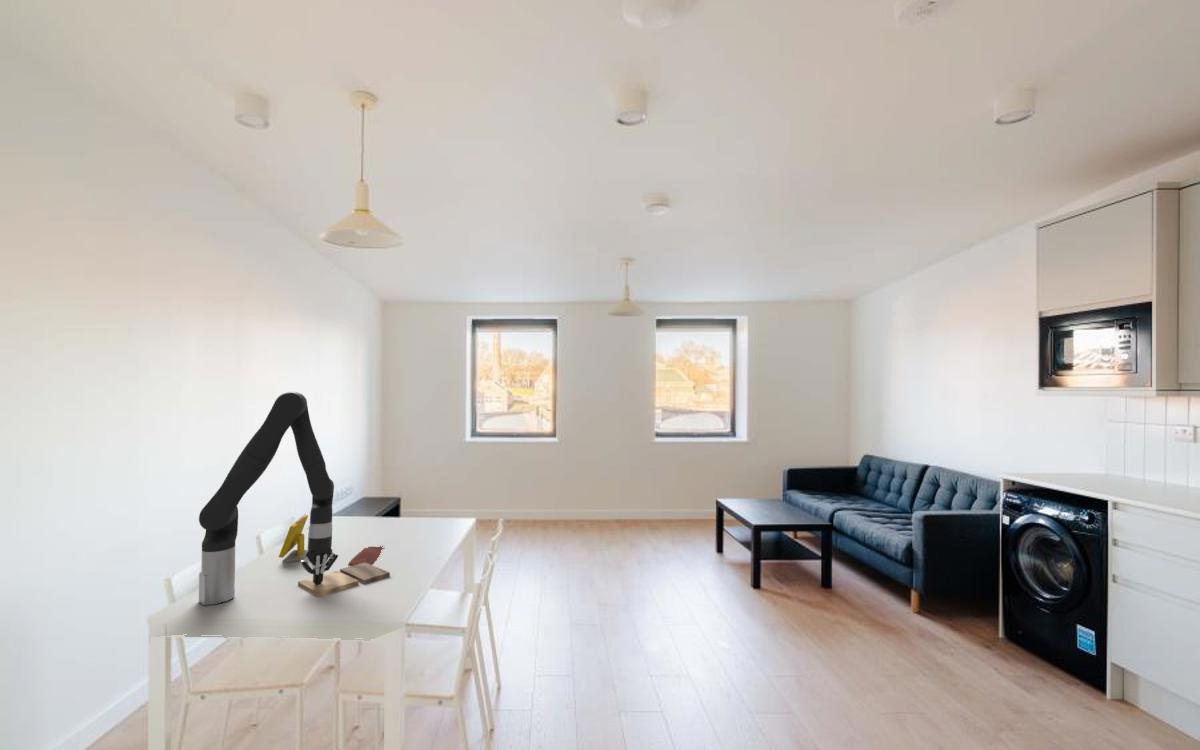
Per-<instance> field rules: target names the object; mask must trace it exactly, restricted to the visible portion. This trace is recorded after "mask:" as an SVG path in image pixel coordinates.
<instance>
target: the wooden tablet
mask: <svg viewBox="0 0 1200 750" xmlns="http://www.w3.org/2000/svg"><path fill="white" fill-rule="evenodd" d="M379 546H380V547H374V546H367V547H368V548H366V547H364V548H362V549H363V550H362V549H361V550H362V551H361V550H360V551H361V552H360V551H359V552H358V553H357V554H356V555H355V556H354V557H352V559H351V560H349V562H348V566H347V567H350V566H354V565H357V564H361V563H365V562H366V563H368V564H370V565H374V564H375V563H376V562H377V560H378V559H379V558H380V556H381V554H382V552H381V550H382V549H383V548H382V547H383V546H384V545H379ZM381 546H382V547H381ZM382 551H383V550H382ZM380 553H381V554H380ZM379 555H380V556H379ZM378 557H379V558H378ZM377 558H378V559H377ZM375 561H376V562H375ZM374 562H375V563H374Z"/></svg>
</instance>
